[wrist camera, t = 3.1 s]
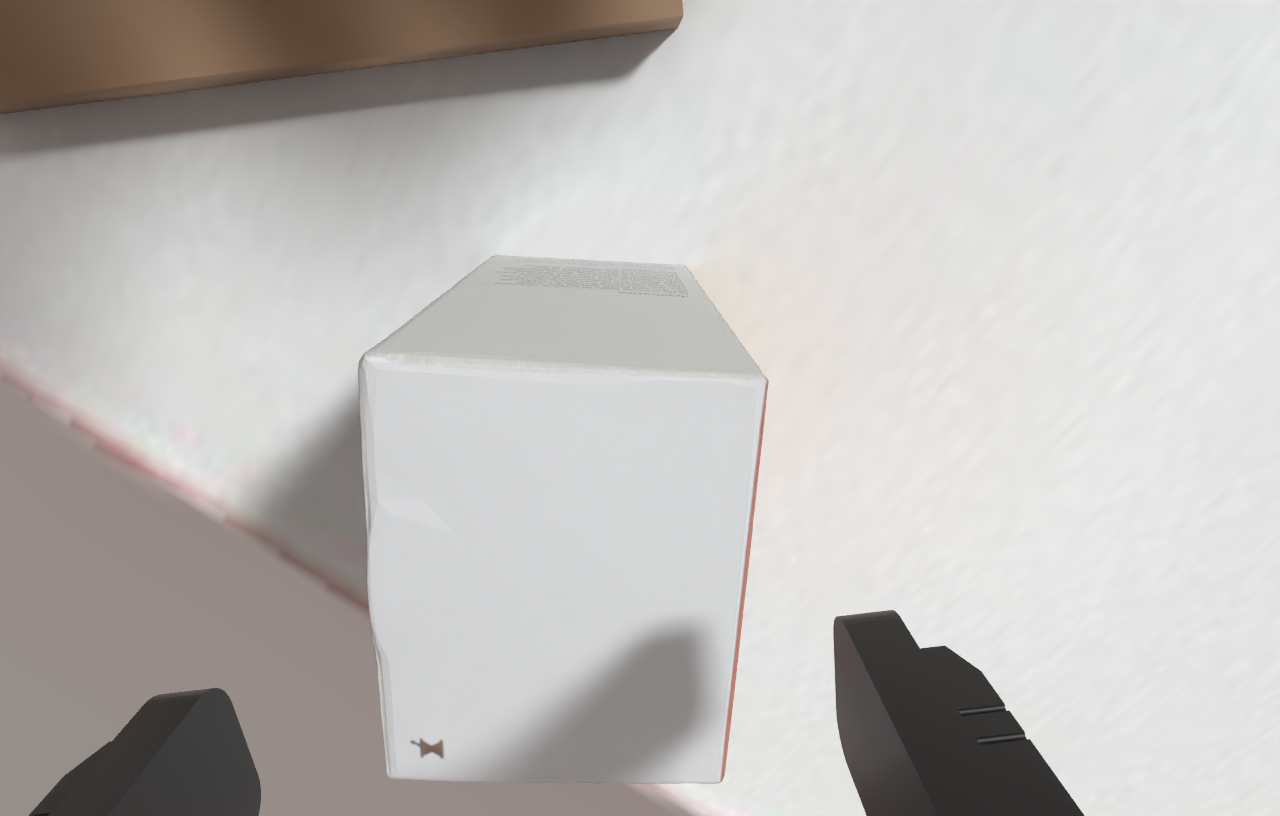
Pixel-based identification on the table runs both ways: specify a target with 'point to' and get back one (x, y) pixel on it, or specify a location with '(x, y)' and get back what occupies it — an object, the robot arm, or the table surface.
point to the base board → (271, 39)
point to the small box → (560, 525)
